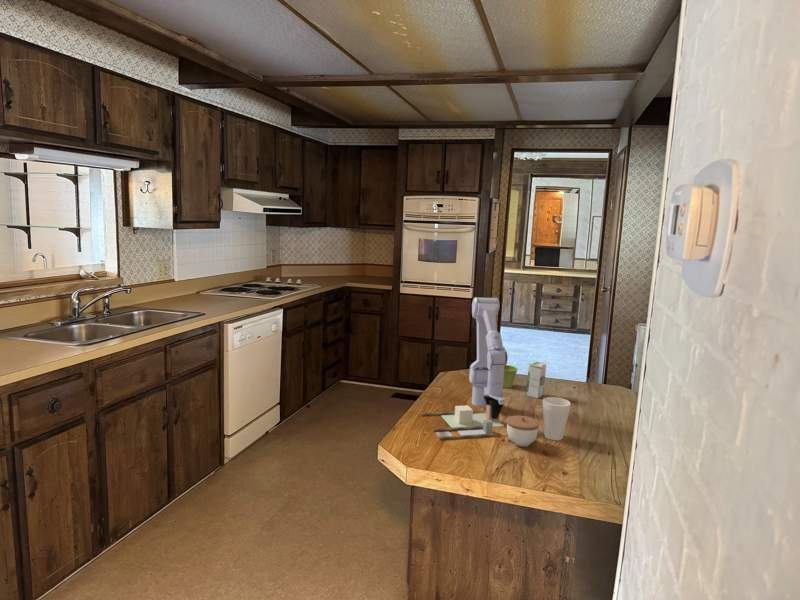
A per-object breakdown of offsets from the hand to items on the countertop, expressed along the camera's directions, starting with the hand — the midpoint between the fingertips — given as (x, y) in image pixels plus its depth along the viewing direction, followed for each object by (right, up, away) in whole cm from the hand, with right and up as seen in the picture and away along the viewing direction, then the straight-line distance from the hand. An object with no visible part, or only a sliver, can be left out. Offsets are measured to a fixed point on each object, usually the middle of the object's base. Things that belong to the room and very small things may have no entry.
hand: (492, 416), depth 206 cm
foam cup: (+20, -5, -11) cm, 23 cm away
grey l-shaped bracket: (-8, -4, -13) cm, 16 cm away
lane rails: (-14, -3, -7) cm, 16 cm away
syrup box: (+24, +2, +33) cm, 41 cm away
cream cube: (-11, -1, -3) cm, 12 cm away
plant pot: (+13, +4, +45) cm, 47 cm away
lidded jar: (+7, -6, -17) cm, 19 cm away
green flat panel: (-8, -2, -2) cm, 8 cm away
